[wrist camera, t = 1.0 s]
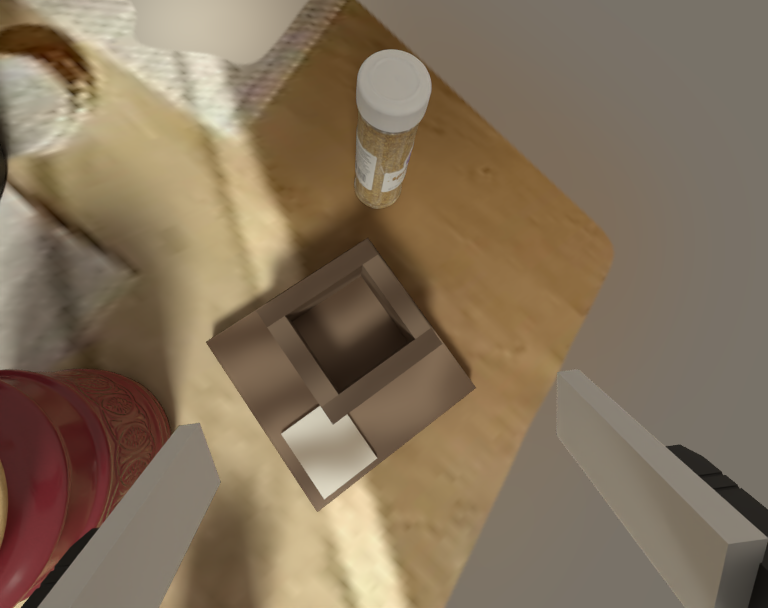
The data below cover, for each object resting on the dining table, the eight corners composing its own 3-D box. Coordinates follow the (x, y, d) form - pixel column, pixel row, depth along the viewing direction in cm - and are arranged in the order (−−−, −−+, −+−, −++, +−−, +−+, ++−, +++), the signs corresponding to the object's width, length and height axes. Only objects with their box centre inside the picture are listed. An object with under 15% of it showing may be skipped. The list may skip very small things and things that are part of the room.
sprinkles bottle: (401, 210, 35) (434, 115, 22) (353, 209, 34) (357, 111, 21) (400, 166, 35) (431, 47, 22) (352, 164, 35) (356, 42, 22)
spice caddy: (212, 343, 31) (187, 338, 26) (366, 243, 34) (370, 222, 29) (318, 505, 30) (313, 532, 25) (470, 386, 33) (492, 390, 28)
